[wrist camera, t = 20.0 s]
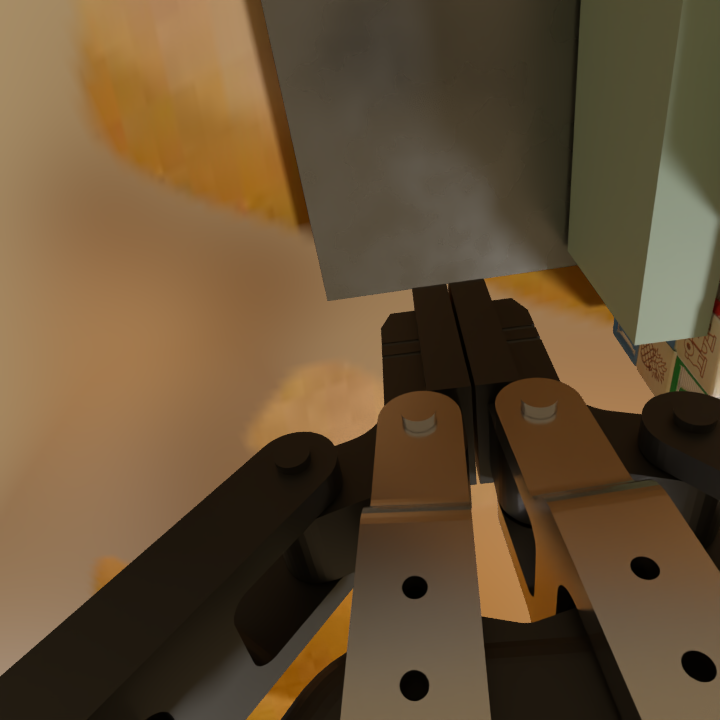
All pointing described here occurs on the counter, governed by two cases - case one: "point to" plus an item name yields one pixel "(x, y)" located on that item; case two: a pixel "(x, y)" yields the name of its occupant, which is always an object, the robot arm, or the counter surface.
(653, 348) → the stack of blocks
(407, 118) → the vise
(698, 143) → the sliding jaw
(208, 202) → the counter surface
